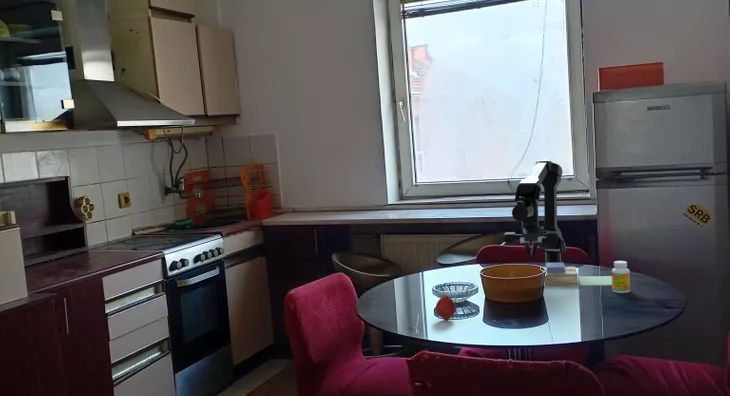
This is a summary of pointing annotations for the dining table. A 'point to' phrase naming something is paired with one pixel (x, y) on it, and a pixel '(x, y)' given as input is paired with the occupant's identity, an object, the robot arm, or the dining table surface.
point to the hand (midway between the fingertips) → (531, 260)
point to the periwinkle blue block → (555, 267)
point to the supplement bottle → (620, 277)
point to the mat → (595, 280)
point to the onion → (445, 307)
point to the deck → (562, 277)
